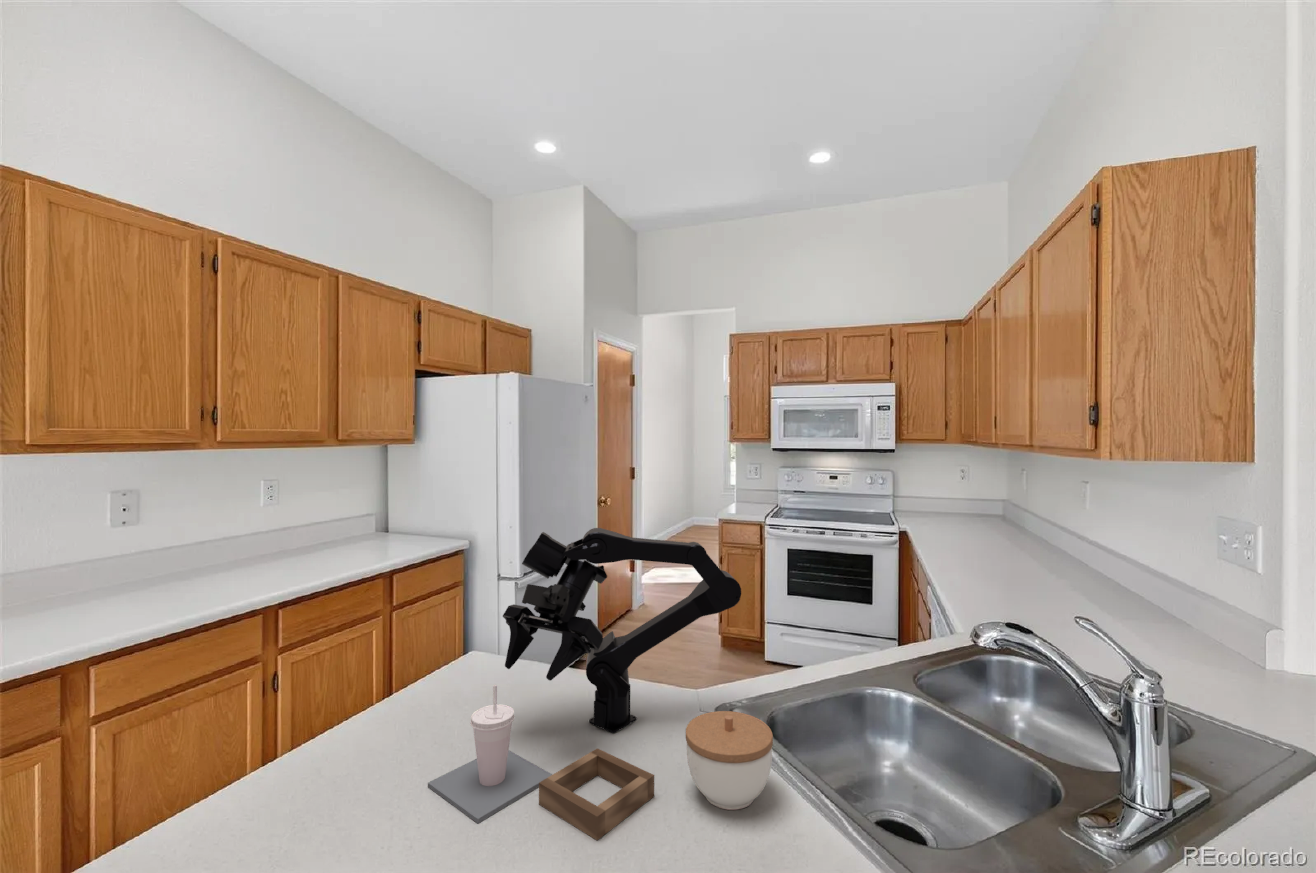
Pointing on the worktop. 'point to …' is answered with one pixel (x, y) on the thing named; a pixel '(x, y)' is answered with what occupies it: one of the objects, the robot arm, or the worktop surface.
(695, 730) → the lidded bowl
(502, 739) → the smoothie
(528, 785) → the slate mat
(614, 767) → the walnut holder
